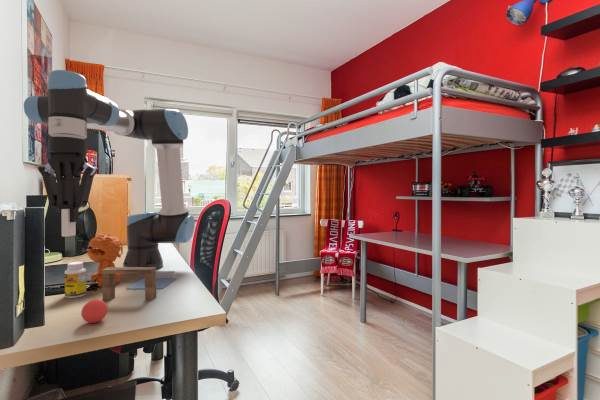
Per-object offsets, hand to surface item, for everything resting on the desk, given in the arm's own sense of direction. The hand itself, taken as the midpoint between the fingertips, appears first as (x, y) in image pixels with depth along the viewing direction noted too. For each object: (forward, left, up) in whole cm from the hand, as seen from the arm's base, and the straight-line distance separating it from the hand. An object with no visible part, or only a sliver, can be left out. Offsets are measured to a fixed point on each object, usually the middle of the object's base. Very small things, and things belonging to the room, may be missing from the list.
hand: (68, 235), depth 78 cm
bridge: (-18, +5, -22) cm, 29 cm away
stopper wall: (-41, +5, -22) cm, 46 cm away
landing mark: (-34, +5, -22) cm, 40 cm away
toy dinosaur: (-33, -11, -22) cm, 41 cm away
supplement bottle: (-21, -13, -22) cm, 33 cm away
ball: (-1, +5, -19) cm, 20 cm away
